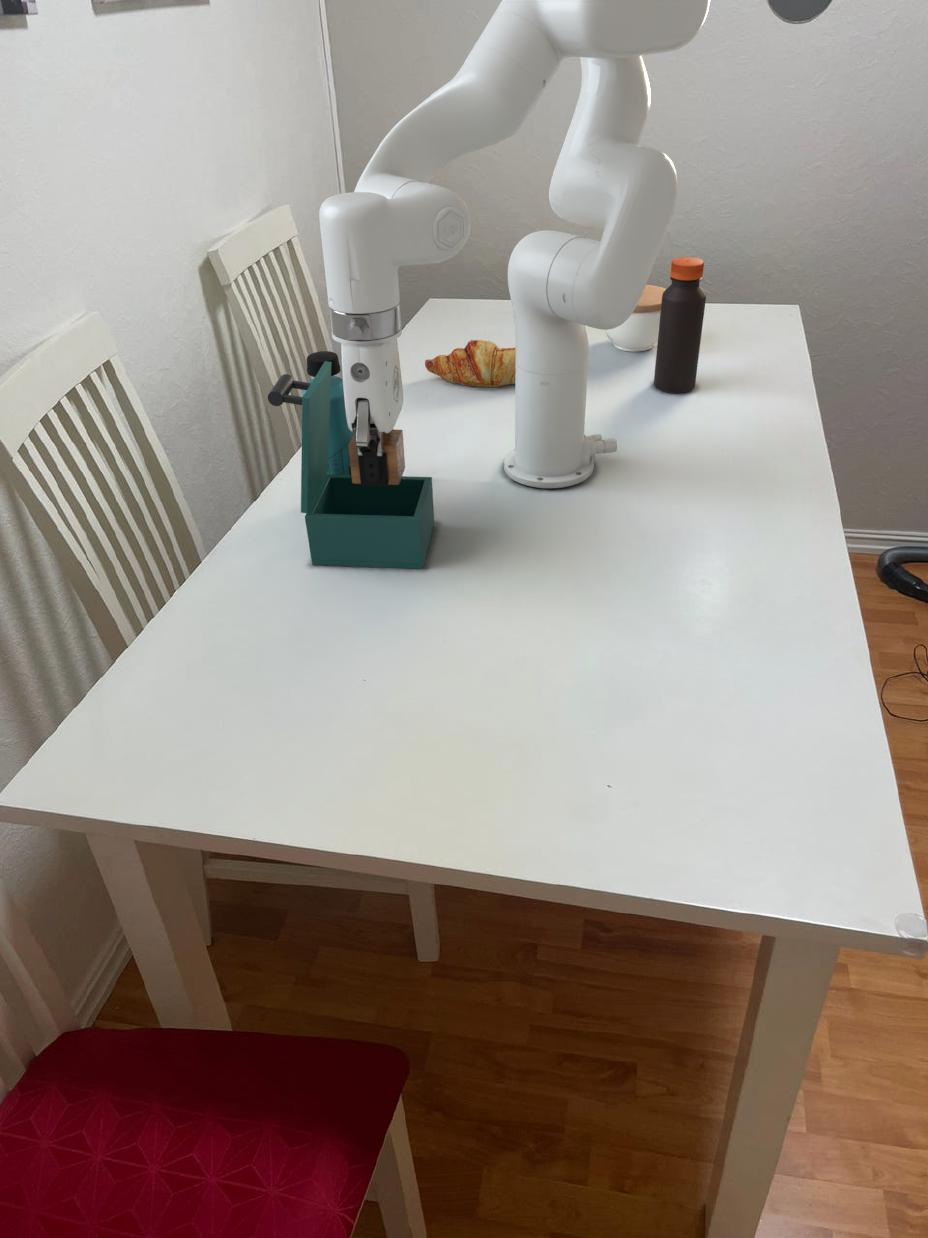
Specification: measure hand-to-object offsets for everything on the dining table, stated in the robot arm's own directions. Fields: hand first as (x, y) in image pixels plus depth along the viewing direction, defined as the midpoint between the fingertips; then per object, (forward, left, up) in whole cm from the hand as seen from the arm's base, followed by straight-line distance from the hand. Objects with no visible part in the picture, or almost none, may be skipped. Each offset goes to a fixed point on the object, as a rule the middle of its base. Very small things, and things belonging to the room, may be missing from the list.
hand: (378, 473), depth 108 cm
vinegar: (-55, -36, -10) cm, 66 cm away
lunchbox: (+1, -1, -10) cm, 10 cm away
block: (0, 0, 0) cm, 0 cm away
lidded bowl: (-56, -56, -10) cm, 79 cm away
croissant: (-26, -48, -10) cm, 55 cm away
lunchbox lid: (+6, -2, +4) cm, 8 cm away
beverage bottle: (+4, -14, -10) cm, 17 cm away
